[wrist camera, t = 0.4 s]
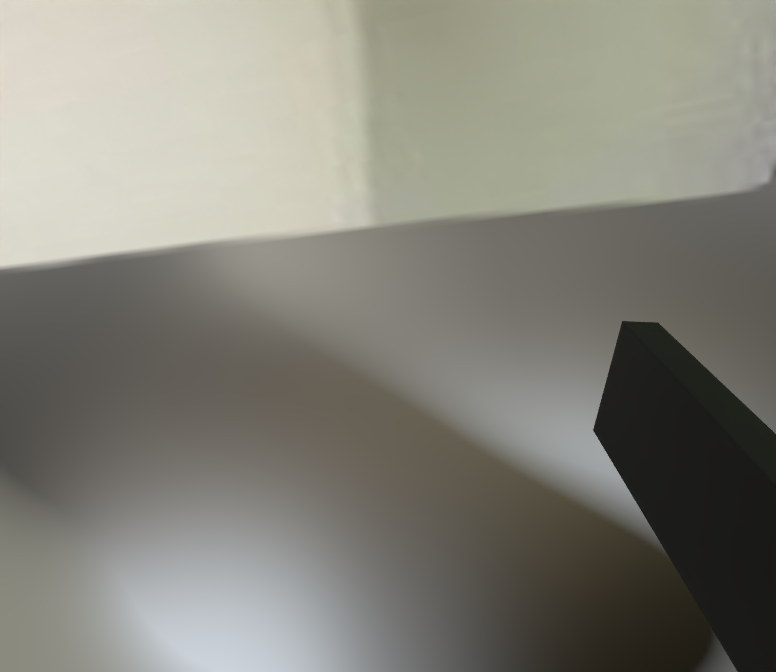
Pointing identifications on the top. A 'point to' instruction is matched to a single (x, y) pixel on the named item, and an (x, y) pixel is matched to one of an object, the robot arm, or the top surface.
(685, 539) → the robot arm
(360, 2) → the top surface
